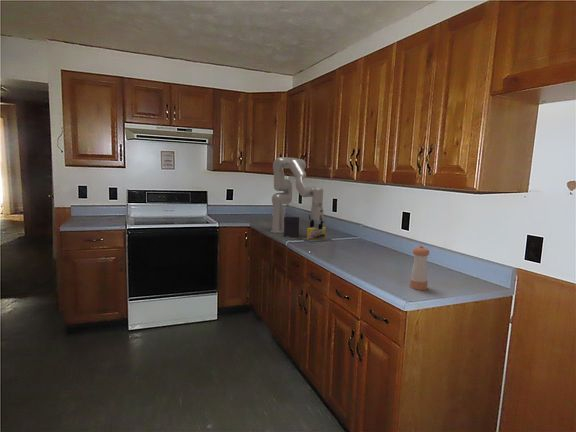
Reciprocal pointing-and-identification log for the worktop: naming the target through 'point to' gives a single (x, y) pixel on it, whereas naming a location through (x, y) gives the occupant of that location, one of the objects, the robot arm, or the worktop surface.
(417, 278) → the pepper shaker
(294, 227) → the calculator
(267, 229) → the worktop surface
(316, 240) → the mat
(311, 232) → the candy box
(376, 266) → the worktop surface
